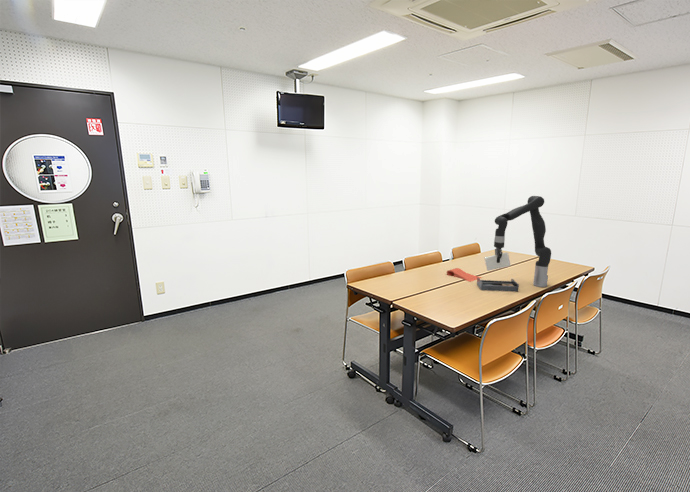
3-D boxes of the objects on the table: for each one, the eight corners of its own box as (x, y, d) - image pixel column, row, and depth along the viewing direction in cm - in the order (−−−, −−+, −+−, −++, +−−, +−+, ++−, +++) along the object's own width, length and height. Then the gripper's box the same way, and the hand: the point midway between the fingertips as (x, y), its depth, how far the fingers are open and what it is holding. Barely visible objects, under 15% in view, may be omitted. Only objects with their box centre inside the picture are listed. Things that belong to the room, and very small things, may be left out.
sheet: (442, 275, 318) (457, 271, 333) (472, 286, 296) (486, 281, 312) (443, 270, 316) (458, 265, 332) (473, 280, 295) (487, 275, 310)
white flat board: (509, 265, 283) (507, 252, 281) (510, 265, 280) (508, 252, 279) (487, 270, 286) (484, 257, 285) (487, 270, 284) (485, 258, 282)
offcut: (511, 286, 280) (512, 284, 279) (513, 288, 275) (514, 286, 275) (501, 286, 281) (501, 283, 280) (503, 288, 276) (503, 285, 276)
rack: (511, 285, 288) (512, 278, 287) (518, 291, 273) (518, 284, 272) (476, 284, 292) (477, 277, 291) (481, 290, 277) (481, 282, 276)
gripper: (506, 243, 272) (505, 264, 275) (501, 240, 286) (500, 260, 289) (496, 242, 273) (495, 264, 276) (492, 239, 287) (490, 260, 290)
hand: (497, 262), depth 283 cm, fingers closed on white flat board, 2 cm apart
